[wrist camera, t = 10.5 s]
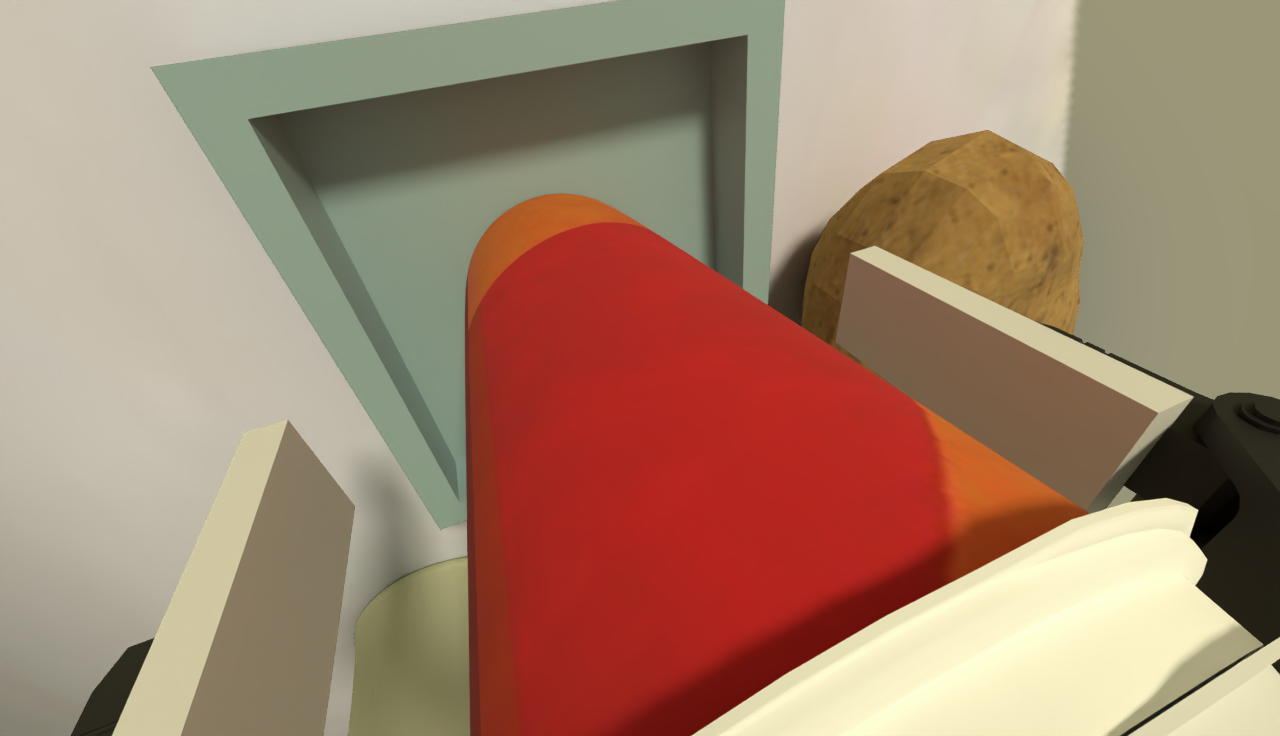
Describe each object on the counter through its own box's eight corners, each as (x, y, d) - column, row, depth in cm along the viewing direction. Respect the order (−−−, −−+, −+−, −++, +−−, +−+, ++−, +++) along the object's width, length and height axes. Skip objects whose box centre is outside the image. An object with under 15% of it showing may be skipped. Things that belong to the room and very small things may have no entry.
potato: (961, 65, 17) (1253, 83, 11) (921, 352, 26) (1073, 449, 20) (727, 167, 16) (909, 248, 10) (768, 431, 25) (879, 558, 19)
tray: (205, 60, 11) (150, 67, 8) (727, -15, 13) (786, -23, 11) (438, 473, 19) (440, 529, 17) (728, 375, 22) (761, 412, 20)
